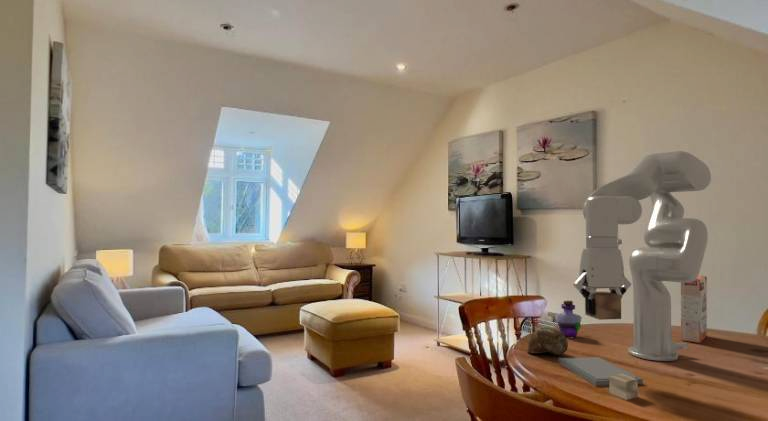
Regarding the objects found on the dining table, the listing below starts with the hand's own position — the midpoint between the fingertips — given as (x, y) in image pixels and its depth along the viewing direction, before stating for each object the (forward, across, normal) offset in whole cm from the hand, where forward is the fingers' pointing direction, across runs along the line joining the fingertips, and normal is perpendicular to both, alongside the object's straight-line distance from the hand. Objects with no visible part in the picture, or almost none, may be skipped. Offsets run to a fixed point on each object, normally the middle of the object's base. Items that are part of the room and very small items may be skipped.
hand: (602, 313), depth 115 cm
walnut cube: (+1, 0, 0) cm, 1 cm away
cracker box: (+16, -53, -29) cm, 63 cm away
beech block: (+16, +4, +14) cm, 21 cm away
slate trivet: (+15, +1, -1) cm, 16 cm away
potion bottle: (+16, -12, -38) cm, 43 cm away
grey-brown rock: (+16, +6, -18) cm, 25 cm away
